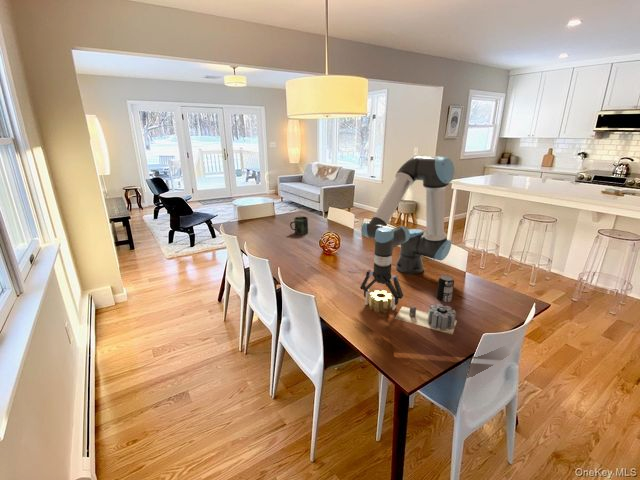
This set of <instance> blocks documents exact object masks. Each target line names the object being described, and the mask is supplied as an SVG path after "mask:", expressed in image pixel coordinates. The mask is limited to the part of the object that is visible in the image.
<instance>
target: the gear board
mask: <svg viewBox="0 0 640 480" xmlns="http://www.w3.org/2000/svg"><path fill="white" fill-rule="evenodd" d="M394 319H395V320H399V321H402V322H407V323H410V324H413V325H417V326H420V327H423V328H427V329H432V330H434V331H438V332H442V333H445V334H449V335H453V334H454V331H455V328H456V325H457V322H458V320H456V319H455V322H454V326H453V329H451V330H449V329H446V331H441V330H440V328H436V329H434V328H433V327H431V324H428V312H426V311H422V310H419V309H417V306H414V305H410V307H407V306H403V305H402V306H401V307H400V309H399V311H398V312H397V314H396V316H395V317H394Z"/></svg>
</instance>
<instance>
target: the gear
mask: <svg viewBox="0 0 640 480" xmlns="http://www.w3.org/2000/svg"><path fill="white" fill-rule="evenodd" d="M427 313H428V324H431V327H433V328H434V329H436V328H440V330H441V331H446V329H449V330H451V329H453V326H454V322H455V320H456V314H457V313H456V310H455V309H452V307H451V306H449V305H443V304H441V303H437V304H436V305H434V304H432V305H430V306H429V308H428V312H427ZM434 329H433V330H434ZM441 331H440V332H441Z"/></svg>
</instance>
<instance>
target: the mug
mask: <svg viewBox="0 0 640 480" xmlns="http://www.w3.org/2000/svg"><path fill="white" fill-rule="evenodd" d="M308 220H309V217H308V216H305V215H304V216H295V217H294V218H293V221H290V223H289V224H290V225H289V227H290V229H291V230H292V231H294V233H295V235H301V234H302V235H306V234H308V233H309V223H308ZM292 224H294V228H293V226H292Z"/></svg>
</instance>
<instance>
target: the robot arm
mask: <svg viewBox="0 0 640 480" xmlns="http://www.w3.org/2000/svg"><path fill="white" fill-rule="evenodd" d="M454 175H455V165H454V162H453V160H452V159H451V158H449V157H447V156H439V155H438V156H436V155H434V156H433V155H431V156H430V155H416V156H414V157H412V158H410V159H408V160H407V161H405V163H403V164H402V165H401V166H400V167H399V169H398V170H397V172H396V173H395V176H394V177H395V180H394V181H393V183H391V186H390V188H389V189H388V192H387V193H386V195H385V196H384V198H383V199H382V201H381V203H380V205H379V207H378V208H377V210H376V211H375V213H374V215H373V217H372V218H371V220H366V221H365V222H363V223H362V225H361V227H360V228H361V229H360V231H361V234H362V235H363V236H364V237H366V238H368V239H373V240H374V254H373V255H374V256H373V257H374V259H373V262H374V263H373V271H372V270H371V269H368V270H367V271H366V273H365V278H364V279H363V282H362V283H361V285H360V287H359V289H360V290H363V297H364V298H365V300H364V301H365V302H364V303H365V305H366V306H368V304H369V299H370V293H371V292H370V291H371V290H370V288H371V287H372V286H373V285H374V284H375V283H376V282H377V283H378V284H381V285H382V284H383V285H385V286H386V287H387V288H388V290H389V291H390V293H391V294H392V307H391V310H392V311H394V310H395V309H396V307H397V306H398V304H399V300H401V299H403V297H404V293H403V291H402V288H401V285H400V283H399V276H398V275H392V263H393V249H394V248H396V247H398V246H400V249H399V250H400V253H399V254H400V255H399V257H398V259H397V261H396V264H395V268H396V270H397V271H399V272H400V273H403V274H409V275H416V274H417V275H418V274H420V273H422V272H423V271H424V263H423V260H422V257H426V258H429V259H431V260H432V259H433V260H434V261H435V260H437V261H443V260H445V259H446V258H447V256H448V255H449V253H450V251H451V248H452V241H451V240H450V239H448V235H447V233H446V232H445V208H446V207H445V204H446V202H445V201H446V188H447V187H448V186H449V184H450V183H452V181H453V180H454ZM416 181H422V186H423V187H424V188H425V191H426V192H425V193H426V195H425V197H426V201H425V203H426V204H425V205H426V207H425V209H426V211H425V212H426V213H425V216H426V217H425V219H426V220H425V225H426V227H425V228H426V230H425V231H424V230H423V229H419V228H411V229H410V228H409V229H408V228H407V227H406V226H397V227H395V226H390V225H388V224H389V222H390V220H391V219H392V217H393V216H394V213H395V212H396V210H397V208H398V206H399V204H400V203H401V201H402V199H403V198H404V196H405V195H406V193H407V191H408V189H409V188H410V186H413V184H414V183H415V182H416ZM371 276H373V278H374V279H372V281H370V283H369V284H368V285H367V283H368V281H369V279H370V277H371ZM391 280H392V281H391ZM392 282H393V283H392ZM393 284H394V285H393ZM366 285H367V286H366Z"/></svg>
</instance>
